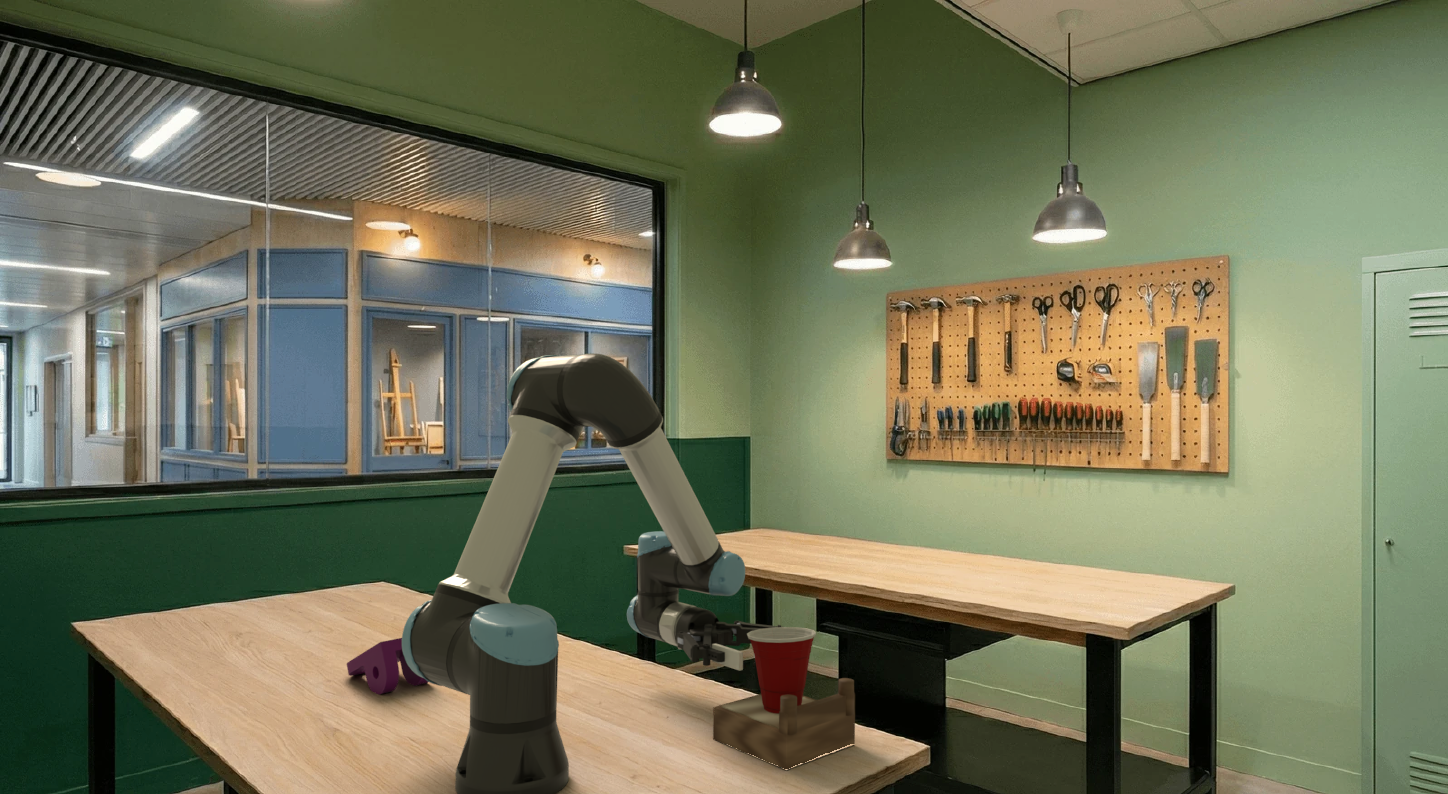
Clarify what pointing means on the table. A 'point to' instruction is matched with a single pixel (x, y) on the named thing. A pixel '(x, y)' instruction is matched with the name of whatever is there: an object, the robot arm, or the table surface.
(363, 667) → the mounting bracket
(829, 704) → the walnut stand
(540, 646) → the robot arm
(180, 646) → the table surface
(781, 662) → the plastic cup
